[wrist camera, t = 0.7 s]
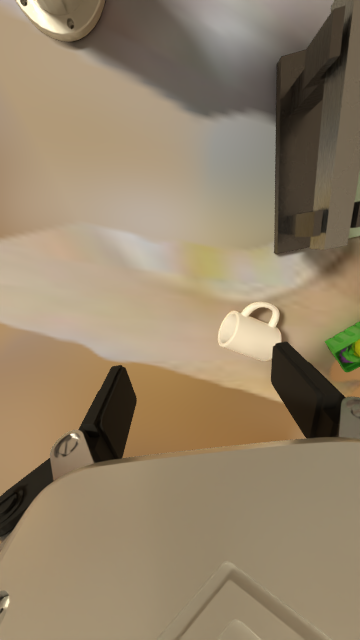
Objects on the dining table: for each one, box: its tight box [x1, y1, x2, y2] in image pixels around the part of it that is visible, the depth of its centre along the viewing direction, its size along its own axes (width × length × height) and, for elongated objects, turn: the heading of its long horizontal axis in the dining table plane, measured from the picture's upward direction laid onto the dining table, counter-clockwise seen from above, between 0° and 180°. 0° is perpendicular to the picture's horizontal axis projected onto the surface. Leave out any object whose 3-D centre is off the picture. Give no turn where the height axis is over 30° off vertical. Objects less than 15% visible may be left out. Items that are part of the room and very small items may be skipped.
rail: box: [310, 0, 360, 250], centre depth 21 cm, size 23×3×3 cm, turn 12°
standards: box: [274, 6, 360, 254], centre depth 25 cm, size 25×6×11 cm, turn 12°
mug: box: [218, 302, 281, 361], centre depth 38 cm, size 12×10×8 cm
